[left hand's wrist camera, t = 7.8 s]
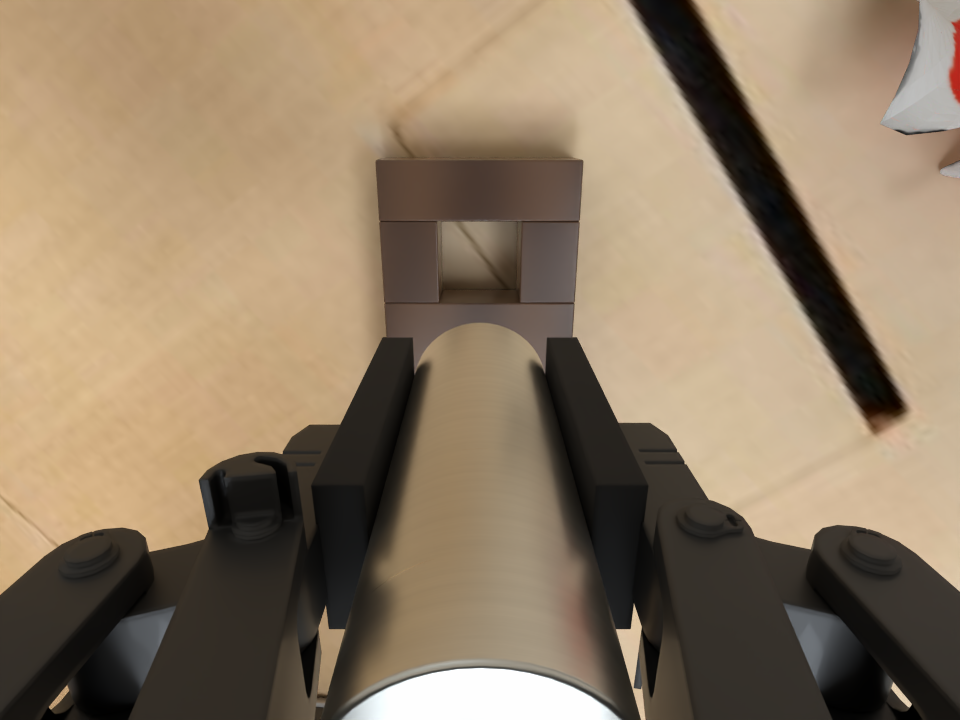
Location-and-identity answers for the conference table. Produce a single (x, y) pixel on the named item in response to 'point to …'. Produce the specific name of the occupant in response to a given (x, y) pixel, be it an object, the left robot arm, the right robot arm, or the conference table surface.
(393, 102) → the conference table surface
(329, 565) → the left robot arm
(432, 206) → the peg board
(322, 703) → the right robot arm
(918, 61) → the fish
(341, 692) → the peg
